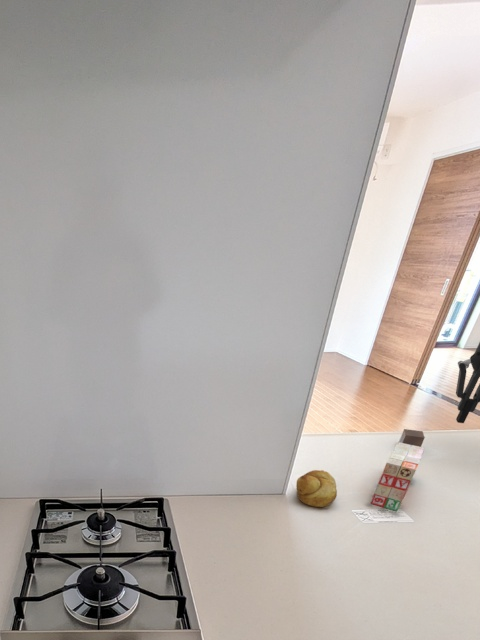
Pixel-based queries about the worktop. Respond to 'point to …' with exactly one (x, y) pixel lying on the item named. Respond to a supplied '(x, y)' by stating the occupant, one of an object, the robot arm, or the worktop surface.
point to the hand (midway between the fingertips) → (459, 421)
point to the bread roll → (316, 488)
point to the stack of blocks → (397, 476)
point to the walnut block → (412, 437)
